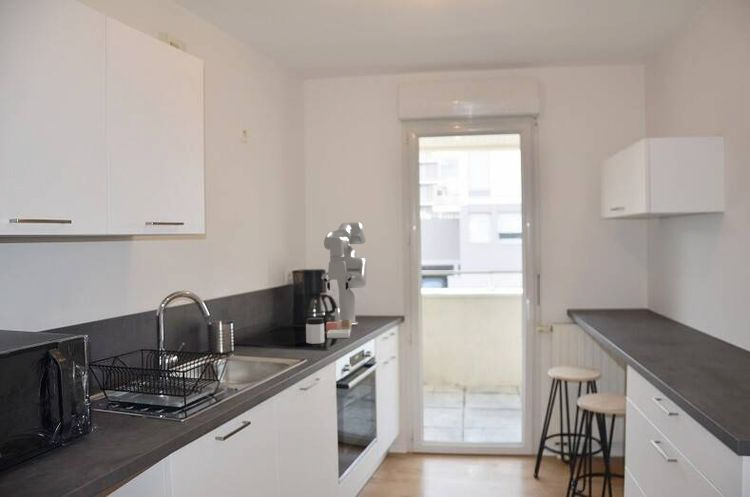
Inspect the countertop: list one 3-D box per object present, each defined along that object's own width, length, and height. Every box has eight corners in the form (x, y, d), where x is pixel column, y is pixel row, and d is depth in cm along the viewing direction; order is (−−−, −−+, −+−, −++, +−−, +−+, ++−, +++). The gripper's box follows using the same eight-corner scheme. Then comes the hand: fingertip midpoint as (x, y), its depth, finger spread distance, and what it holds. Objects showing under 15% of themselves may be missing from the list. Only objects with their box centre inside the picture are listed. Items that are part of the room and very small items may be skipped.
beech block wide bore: (340, 330, 336) (340, 320, 336) (351, 330, 336) (351, 319, 336) (339, 332, 330) (339, 321, 330) (350, 332, 330) (350, 321, 330)
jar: (311, 340, 303) (311, 317, 303) (326, 341, 300) (326, 317, 300) (303, 343, 294) (303, 319, 294) (318, 344, 292) (318, 319, 291)
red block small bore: (327, 332, 330) (327, 321, 329) (338, 332, 329) (338, 321, 329) (326, 334, 324) (326, 323, 323) (337, 334, 323) (337, 323, 323)
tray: (329, 335, 321) (329, 329, 321) (350, 334, 320) (350, 329, 320) (327, 338, 309) (326, 332, 309) (348, 337, 309) (348, 332, 309)
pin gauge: (335, 329, 342) (335, 308, 342) (340, 329, 342) (339, 308, 342) (335, 330, 340) (334, 308, 340) (339, 329, 340) (339, 308, 339)
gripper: (352, 258, 336) (353, 288, 337) (322, 259, 336) (323, 289, 337) (352, 259, 329) (353, 290, 329) (320, 259, 329) (321, 290, 329)
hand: (337, 289), depth 333 cm, fingers open, 9 cm apart
